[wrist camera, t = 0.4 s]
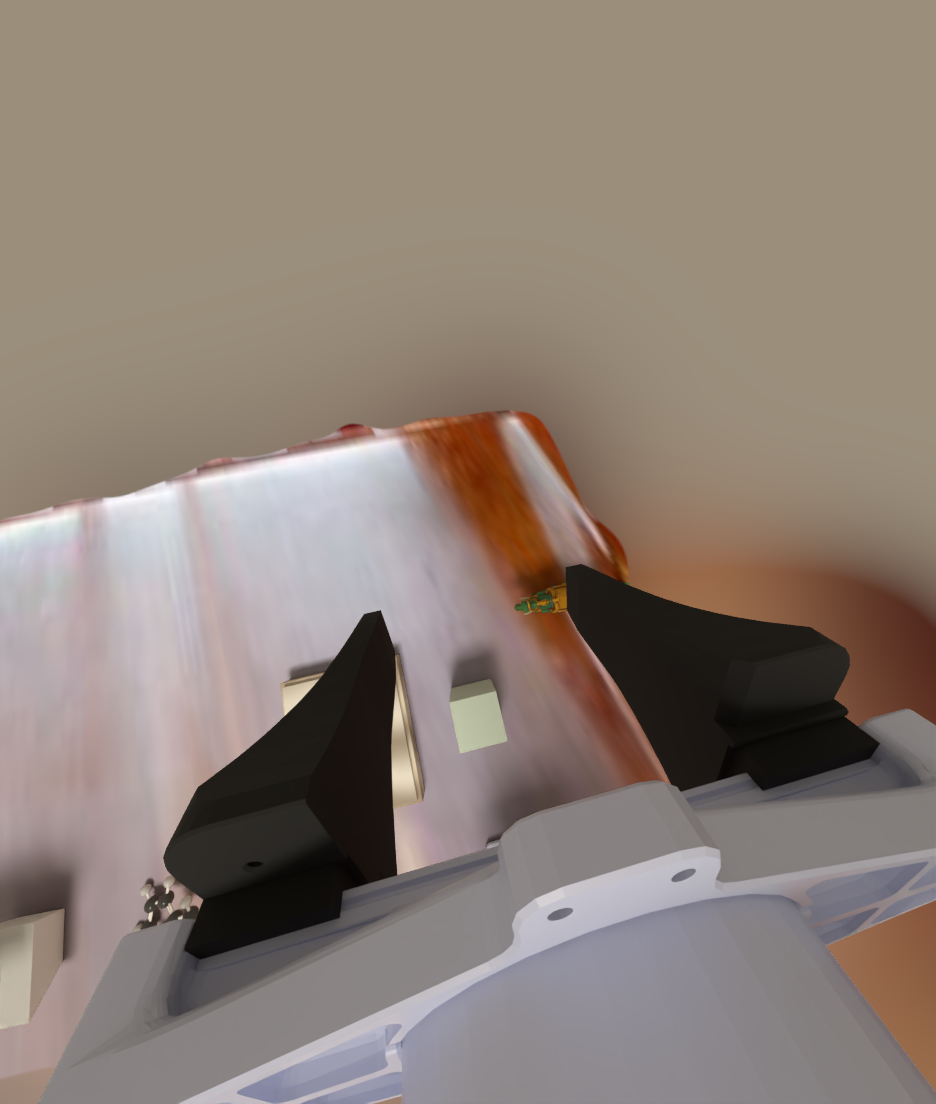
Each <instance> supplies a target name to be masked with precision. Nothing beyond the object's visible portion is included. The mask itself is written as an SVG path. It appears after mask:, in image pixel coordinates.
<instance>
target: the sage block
mask: <svg viewBox="0 0 936 1104" xmlns="http://www.w3.org/2000/svg"><path fill="white" fill-rule="evenodd" d="M450 707H451V712H452V717H453V722H454V727H455V732H456V736H457V741H458V746H459V751H460V753H464V752H468V751H472V750H475V749H479V748H483V747H487V746H491V745H495V744H499V743H503V742H506V741H507V737H506V732H505V728H504V724H503V719H502V715H501V711H500V706H499V702H498V697H497V693H496V690H495V688H494V686H493V683H492V681H491V679H487V680H483V681H478V682H474V683H470V684H466V685H462V686H458V687H454V688H451V694H450Z"/></svg>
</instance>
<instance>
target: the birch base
mask: <svg viewBox="0 0 936 1104" xmlns="http://www.w3.org/2000/svg"><path fill="white" fill-rule="evenodd" d="M395 660H396V687H395V700H394V713H393V726H392V744H391V752H392V789H393V809H396V808H399V807H403V806H407V805H411V804H414V803H418V802H422V801H423V797H424V792H425V789H424V783H423V778H422V773H421V767H420V762H419V756H418V751H417V746H416V740H415V735H414V730H413V724H412V719H411V713H410V708H409V703H408V697H407V692H406V687H405V681H404V676H403V670H402V665H401V660H400V654H397V655H395ZM323 674H324V672H321V673H317V674H313V675H309V676H304V677H300V678H296V679H292V680H289V681H286V682H283V683H281V692H282V700H283V708H284V716H285V715H286V714H287V713H288V712H289V711H290V710H291V709H292V708H293V707H294V706H295V705H296V704H297V703H298V702H299V701H300V700H301V699H302V698H303V697H304V696H305V695H306V694H307V693H308V692H309V690H310V689H311V688H312V687H313V686H314V685H315V684H316V682H317V681H318V680H319V679H320V678H321V676H322V675H323Z"/></svg>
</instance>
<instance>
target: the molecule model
mask: <svg viewBox="0 0 936 1104" xmlns="http://www.w3.org/2000/svg"><path fill="white" fill-rule="evenodd" d="M174 882H175V878H174V877H173V876H169V877H167V878H166V879H165V881H164V884H163V885H164V887H165V888H166V892H164V893H163V894H162V895H161V896H159V895H154V896H152V897H151V895H150V893H149V892H150V891H151V889H152V885H151V884H146V885H144V886H143V887H142V888H141V890H140V895H141V896H145V895H146V896H147V898H148V900H147V902H146V903H145V906H144V911H145V912H146V913H149V917H148V920H146V921H145V922H144V923H143V924H139V925H137V926H136V927H135V928H134V930H133V932H135V931H139V930H142V929H146V928H149V927H153V926H156V925H157V920H156V918H152V916H153V911H155V910H156V909H157V908H158V907H159V908H161V909H163V908H166V907H167V908H168V910H169V912H170V916H169V917H168V919H167V922H170V921H173V920H179V919H194V920H196V918H197V915H198V913H199V910H200V909H199V908H198V907H197V906H191V907H190V906H189V905H190V903H191V901H192V897H191V896H190V895H187V896H185V897H184V898H183V899H182V900H181V902H180V908H181V909H185V908H186V911H185V912H184V913H183V911H182V910H180V909H178V910H175V911H174V909H173V907H172V905H171V903H172V901H173V899H174V892H173V891H171V890H169V889H170V887H171V886H172V885H173V884H174Z"/></svg>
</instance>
